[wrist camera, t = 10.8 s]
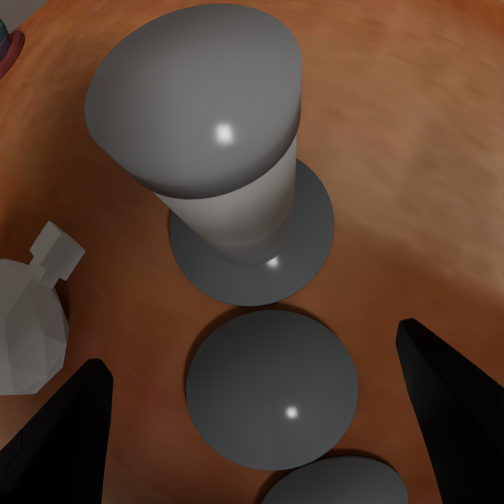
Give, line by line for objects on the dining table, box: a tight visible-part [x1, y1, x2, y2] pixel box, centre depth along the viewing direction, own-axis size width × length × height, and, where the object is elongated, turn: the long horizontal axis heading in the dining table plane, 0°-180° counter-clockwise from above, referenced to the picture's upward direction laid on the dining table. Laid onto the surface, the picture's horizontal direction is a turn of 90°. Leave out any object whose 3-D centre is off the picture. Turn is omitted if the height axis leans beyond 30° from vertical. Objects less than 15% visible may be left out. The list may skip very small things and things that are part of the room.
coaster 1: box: [169, 159, 334, 306], centre depth 19 cm, size 10×10×1 cm
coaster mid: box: [186, 310, 358, 471], centre depth 17 cm, size 10×10×1 cm
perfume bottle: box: [0, 221, 86, 395], centre depth 16 cm, size 9×9×12 cm
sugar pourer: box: [84, 4, 302, 266], centre depth 13 cm, size 5×5×13 cm
